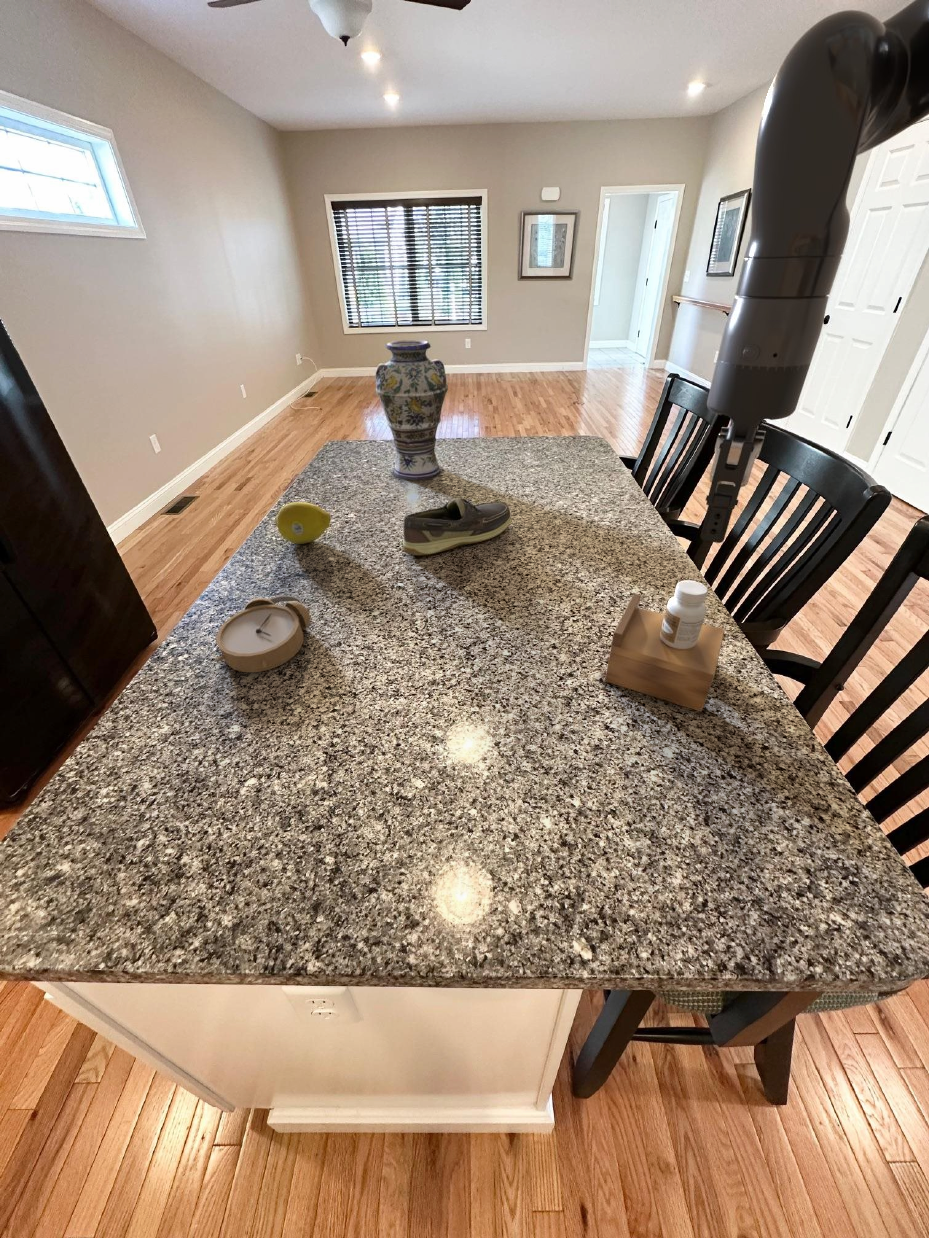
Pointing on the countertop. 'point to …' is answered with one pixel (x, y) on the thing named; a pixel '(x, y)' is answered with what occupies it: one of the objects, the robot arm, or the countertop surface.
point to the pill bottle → (684, 615)
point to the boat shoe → (453, 526)
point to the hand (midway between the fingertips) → (716, 524)
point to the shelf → (662, 659)
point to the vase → (412, 406)
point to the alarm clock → (263, 634)
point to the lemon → (302, 522)
